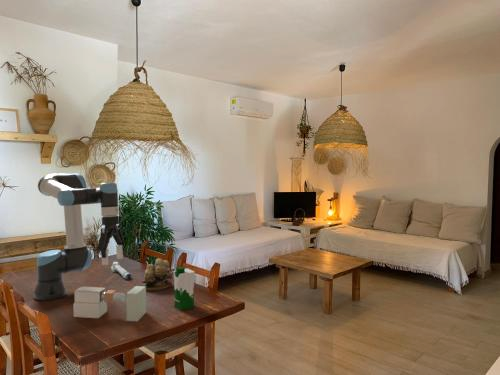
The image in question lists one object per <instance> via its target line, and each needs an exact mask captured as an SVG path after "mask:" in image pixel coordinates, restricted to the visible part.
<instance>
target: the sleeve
mask: <svg viewBox="0 0 500 375" xmlns="http://www.w3.org/2000/svg"><path fill="white" fill-rule="evenodd" d="M100 292H106V287H100V286H98V287H97V286H79V287H78V288H77V289H75V290H74V293H73V294H74V302H73V317H74V318H85V319H86V318H89V319H91V318H92V319H99V318H101V317H102V316H104V314H106V313H107V312H108V303H106V302H104V300H100Z"/></svg>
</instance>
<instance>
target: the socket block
mask: <svg viewBox="0 0 500 375" xmlns="http://www.w3.org/2000/svg"><path fill="white" fill-rule="evenodd" d="M125 293H126V292H125ZM125 302H126V304H125V305H126V322H139V321H140V320H141V319H142V317H143V316H144V315H145V314H146V313H147V292H146V286H145V285H143V286H141V285H135V286H134V287H133V288H132V289H130V290H128V291H127V293H126V300H125Z"/></svg>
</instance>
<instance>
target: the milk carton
mask: <svg viewBox="0 0 500 375" xmlns="http://www.w3.org/2000/svg"><path fill="white" fill-rule="evenodd" d="M172 272H173V279H174V307H175V308H176V309H178V310H180V311H185V310H189V309H193V308H195V275H196V274H195V272H196V271H195V270H192V269H190V268H188V267H187V268H186V267H185V266H177V267H176V268H175V270H173V271H172Z"/></svg>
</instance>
